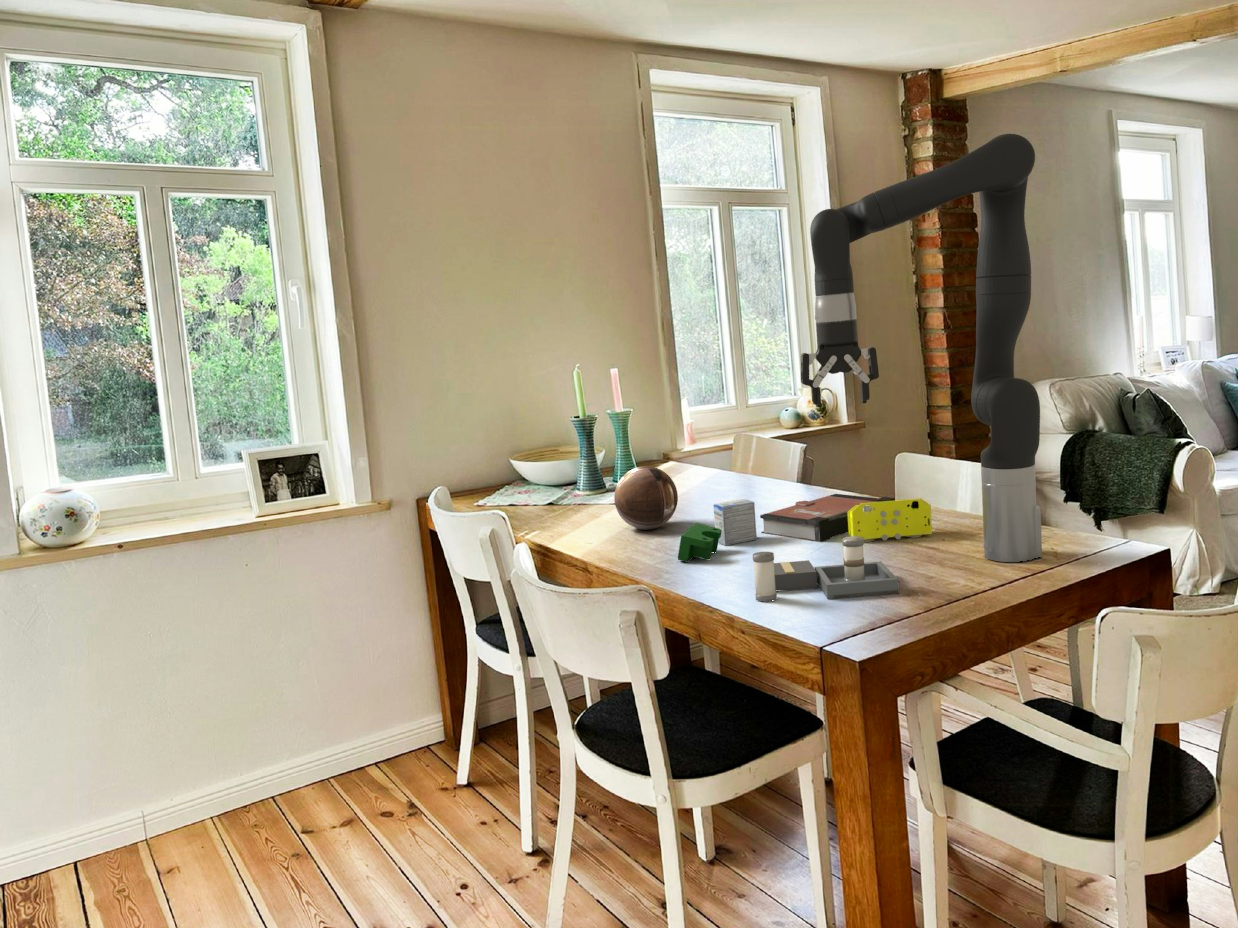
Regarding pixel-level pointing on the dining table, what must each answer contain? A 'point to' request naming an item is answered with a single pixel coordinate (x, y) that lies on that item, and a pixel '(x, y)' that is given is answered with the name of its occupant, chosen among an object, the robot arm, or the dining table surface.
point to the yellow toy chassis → (890, 519)
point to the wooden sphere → (646, 497)
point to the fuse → (764, 576)
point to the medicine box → (735, 521)
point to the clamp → (699, 542)
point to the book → (815, 517)
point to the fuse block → (795, 575)
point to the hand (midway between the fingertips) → (841, 404)
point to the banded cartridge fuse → (853, 558)
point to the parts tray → (875, 581)
